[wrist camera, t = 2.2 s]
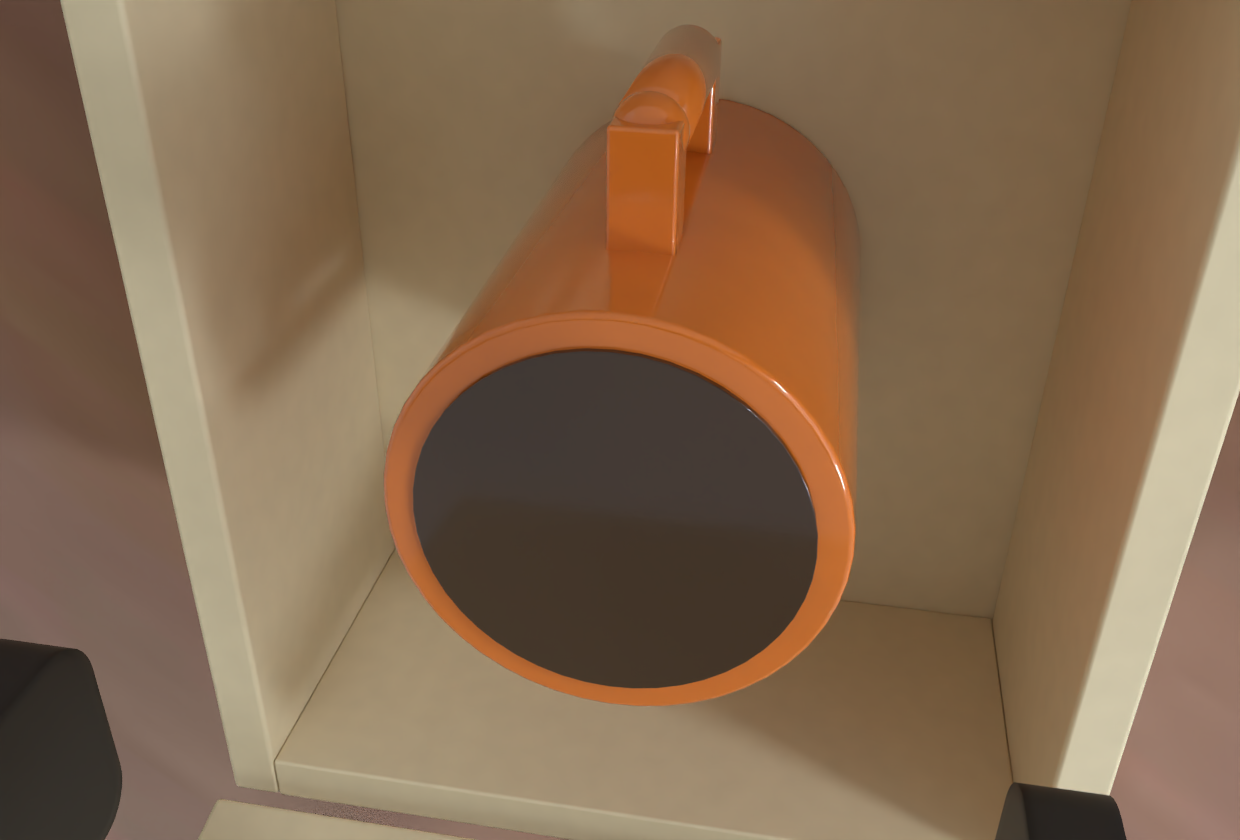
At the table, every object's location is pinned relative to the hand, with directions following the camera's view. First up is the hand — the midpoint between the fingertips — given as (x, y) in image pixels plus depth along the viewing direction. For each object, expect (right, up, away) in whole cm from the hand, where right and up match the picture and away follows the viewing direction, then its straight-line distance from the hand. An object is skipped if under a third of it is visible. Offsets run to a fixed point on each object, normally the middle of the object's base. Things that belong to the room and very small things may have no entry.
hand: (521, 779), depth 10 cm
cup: (+2, +6, +10) cm, 12 cm away
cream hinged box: (+2, +6, +10) cm, 13 cm away
